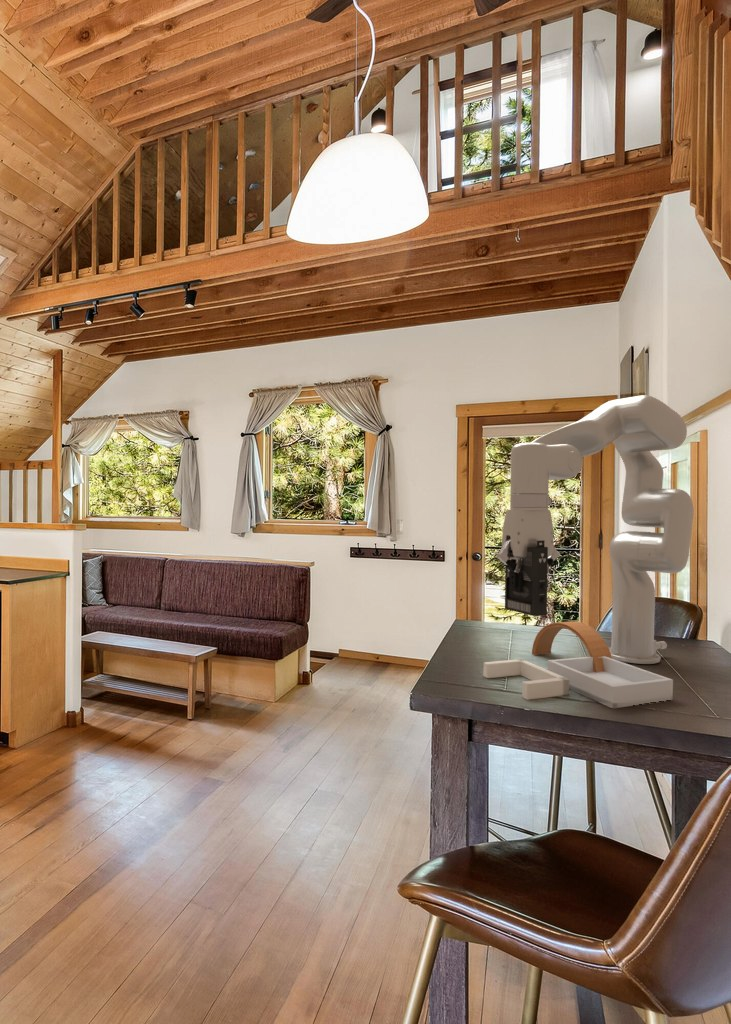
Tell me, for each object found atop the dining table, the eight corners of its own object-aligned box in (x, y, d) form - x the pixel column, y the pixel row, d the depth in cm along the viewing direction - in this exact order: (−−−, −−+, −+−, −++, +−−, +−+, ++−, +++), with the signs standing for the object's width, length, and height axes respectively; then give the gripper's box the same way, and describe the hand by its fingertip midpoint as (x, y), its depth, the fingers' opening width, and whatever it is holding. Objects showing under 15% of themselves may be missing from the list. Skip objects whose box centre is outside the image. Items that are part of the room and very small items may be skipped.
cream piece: (521, 672, 120) (522, 658, 120) (569, 694, 106) (569, 679, 106) (483, 676, 116) (483, 662, 116) (526, 699, 102) (527, 684, 102)
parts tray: (601, 672, 121) (602, 655, 121) (672, 700, 104) (673, 679, 104) (547, 678, 116) (547, 660, 116) (612, 708, 99) (613, 686, 99)
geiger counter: (555, 615, 108) (556, 540, 107) (538, 617, 106) (539, 541, 105) (517, 606, 117) (518, 537, 117) (501, 608, 115) (502, 538, 115)
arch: (595, 676, 118) (595, 630, 118) (531, 656, 136) (531, 617, 136) (614, 673, 120) (613, 628, 120) (549, 654, 138) (548, 615, 139)
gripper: (550, 503, 117) (549, 586, 118) (483, 502, 111) (482, 590, 112) (575, 503, 110) (573, 591, 111) (505, 502, 104) (503, 596, 105)
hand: (528, 589), depth 111 cm, fingers closed on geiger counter, 5 cm apart
